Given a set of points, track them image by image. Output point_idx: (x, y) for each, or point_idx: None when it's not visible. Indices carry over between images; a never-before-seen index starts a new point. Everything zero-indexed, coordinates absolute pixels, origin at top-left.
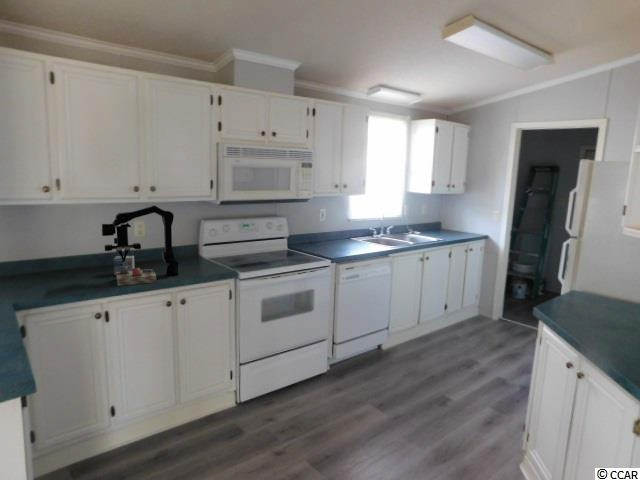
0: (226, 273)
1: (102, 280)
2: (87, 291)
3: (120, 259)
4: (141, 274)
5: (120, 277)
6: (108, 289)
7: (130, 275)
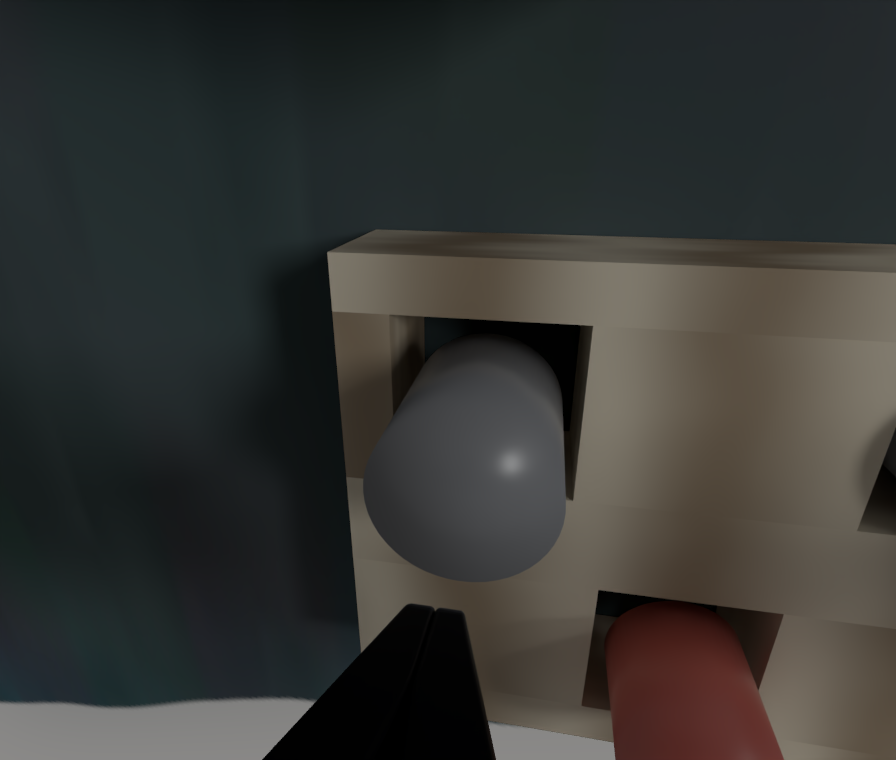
0: None
1: (166, 231)
2: (126, 653)
3: None
4: (781, 646)
5: None
6: (305, 686)
7: (573, 618)
